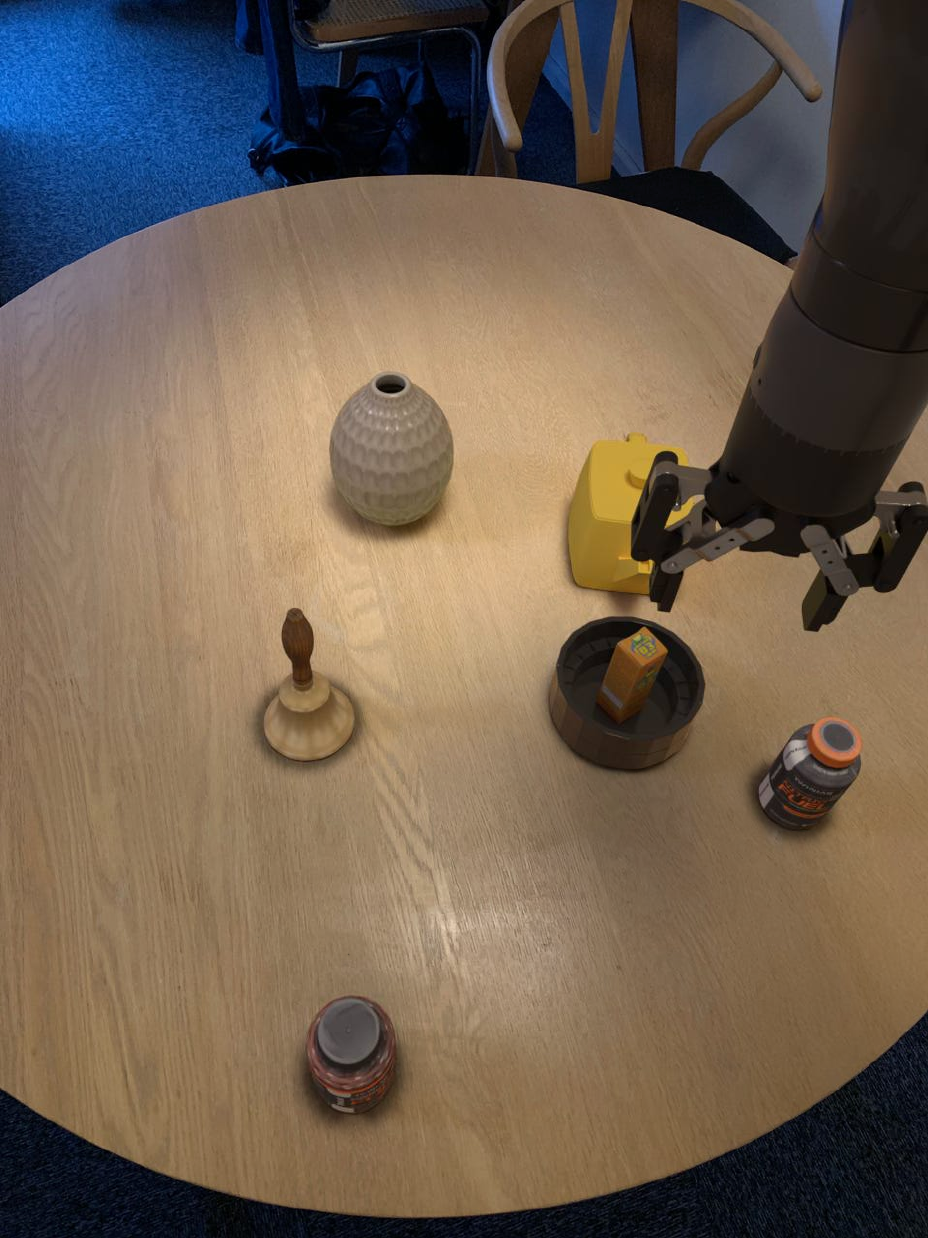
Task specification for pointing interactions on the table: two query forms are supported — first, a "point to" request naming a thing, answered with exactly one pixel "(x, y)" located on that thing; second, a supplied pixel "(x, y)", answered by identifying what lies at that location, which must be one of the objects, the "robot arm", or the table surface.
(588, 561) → the teapot
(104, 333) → the table surface
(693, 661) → the bowl
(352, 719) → the hand bell
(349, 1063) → the supplement bottle
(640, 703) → the supplement box
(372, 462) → the vase
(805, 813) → the pill bottle
